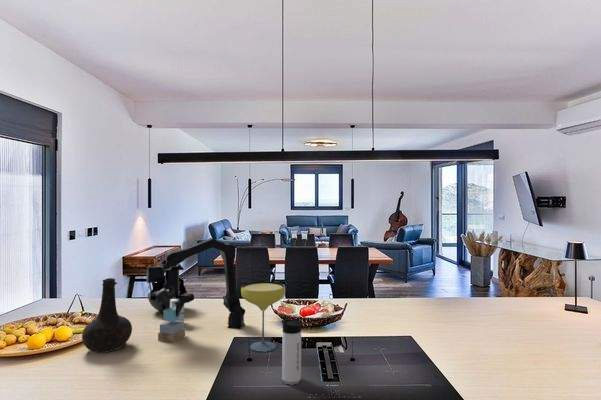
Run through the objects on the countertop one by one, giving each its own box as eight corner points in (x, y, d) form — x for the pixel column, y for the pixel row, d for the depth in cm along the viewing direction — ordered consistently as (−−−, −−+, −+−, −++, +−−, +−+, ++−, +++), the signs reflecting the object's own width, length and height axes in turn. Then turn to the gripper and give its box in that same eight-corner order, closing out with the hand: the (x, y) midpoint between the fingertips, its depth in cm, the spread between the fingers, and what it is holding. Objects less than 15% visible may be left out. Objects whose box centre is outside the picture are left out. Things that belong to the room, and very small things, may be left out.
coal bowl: (179, 317, 188) (179, 280, 188) (140, 316, 188) (141, 280, 188) (191, 306, 208) (191, 273, 208) (156, 305, 208) (156, 272, 208)
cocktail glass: (291, 342, 156) (291, 283, 156) (274, 359, 138) (275, 293, 139) (253, 336, 161) (253, 280, 162) (232, 352, 144) (232, 289, 144)
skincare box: (171, 326, 174) (171, 301, 174) (169, 324, 177) (169, 299, 177) (184, 324, 177) (184, 299, 177) (182, 321, 181) (182, 297, 181)
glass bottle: (80, 361, 136) (81, 285, 136) (83, 344, 152) (84, 276, 152) (133, 352, 144) (133, 281, 144) (130, 337, 160) (131, 273, 160)
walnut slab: (185, 336, 162) (185, 328, 162) (174, 343, 154) (174, 335, 154) (169, 334, 164) (169, 326, 164) (158, 341, 157) (158, 333, 157)
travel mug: (280, 376, 125) (281, 317, 125) (300, 375, 125) (300, 317, 125) (281, 385, 118) (281, 324, 119) (301, 385, 119) (302, 323, 119)
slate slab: (183, 329, 161) (183, 321, 161) (173, 334, 155) (173, 326, 155) (170, 327, 164) (170, 319, 164) (159, 332, 157) (159, 324, 157)
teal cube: (180, 317, 161) (180, 307, 162) (173, 321, 157) (173, 311, 157) (170, 317, 163) (170, 306, 163) (163, 320, 158) (163, 310, 158)
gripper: (141, 283, 154) (141, 320, 154) (180, 286, 150) (180, 324, 150) (158, 278, 165) (157, 312, 165) (195, 280, 160) (194, 316, 160)
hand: (172, 316), depth 160 cm, fingers closed on teal cube, 5 cm apart
